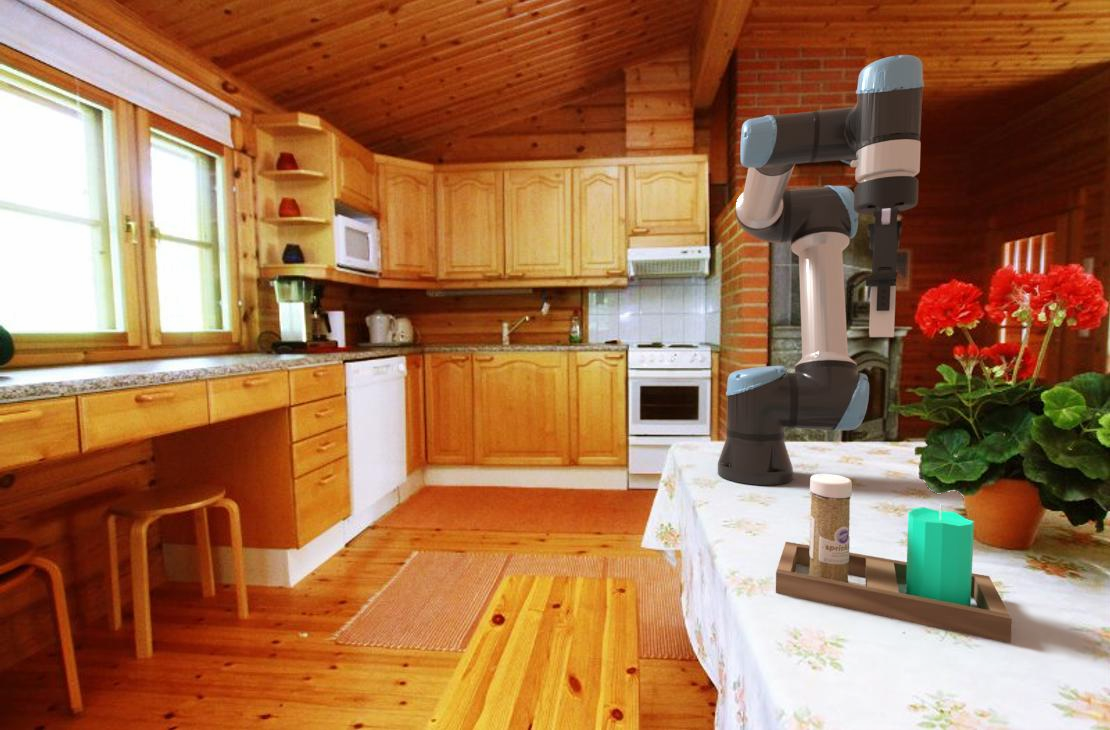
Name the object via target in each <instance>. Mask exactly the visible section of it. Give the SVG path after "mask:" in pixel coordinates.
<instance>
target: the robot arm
mask: <svg viewBox="0 0 1110 730" xmlns="http://www.w3.org/2000/svg"><path fill="white" fill-rule="evenodd" d="M923 72H924V71H923V63H922V60H921V59H920V57H917V56H915V55H912V54H898V55H893V56H888V57H884V58H881V59H878V60H875V61H874V62H873V61H872V62H871V63H869V64H868V65H867V66H865V67H863V68H862V70H861V71H860V72H859V74H858V80H857V89H856V90H855V94H856V99H857V100H856V104H855V105H854V106H850V107H849V106H848V107H842V108H841V107H840V108H831V109H823V110H814V111H806V112H805V111H804V112H796V113H786V114H776V115H773V114H767V115H765V116H761V117H755V118H749V119H747V120H745V121H744V122H743V123H742V126H741V134H740V156H739V157H740V164H741V166H742V167H743V168H747V174H746V179H745V183H744V189H743V192H742V193H741V194H740V195H739V197H738V199H737V200H736V201H737V202H736V204H735V217H736V220H737V223H738V225H739V227H741V228H742V230H743V231H745V233H747V234H748V235H749V236H751V237H753V238H754V239H757V240H759V241H762V242H766V243H767V242H768V243H780V244H781V243H790V250H791V252H792V253H793V254H795V255H796V256H798V265H799V266H798V268H799V270H798V271H799V296H800V297H799V298H800V299H799V300H800V327H801V328H800V329H801V332H800V333H801V354H802V355H801V356H802V357H801V359H800V360H799V361H798V362H797V363H796V364H795V365H794V372H787V369H786V366H783V365H773V366H772V365H771V366H769V365H768V366H758V367H750V368H744V369H738V370H735V371H733V372H731V373H729V375H728V377H727V381H726V382H727V384H726V385H727V386H726V392H725V396H727V397H726V399H727V401H726V434H725V436H726V438H725V442H724V444H723V448H722V450H721V453H720V455H719V459H718V461H717V474H718V475H719V476H720V477H721V478H723V479H726V480H729V481H732V482H736V483H740V484H748V485H755V486H757V485H758V486H773V485H774V486H775V485H782V484H787V483H790V482H792V481H793V479H794V476H793V475H794V468H793V464H792V462H791V459H790V458H791V457H790V455H789V452H788V450H787V446H786V442H785V430H786V429H794V430H798V429H799V430H822V431H823V430H825V431H832V432H836V431H853V430H856V429H857V428H858V427H860V425H861V424H862V423H863V420H864V419H865V416H866V414H867V410H868V404H869V400H870V399H869V397H870V396H869V395H870V383H869V378H868V376H867V374H865V373H862V372H858V365H857V362H855V361H854V360H853V359H852V358H851V357H849V352H848V350H849V349H848V335H847V333H848V332H847V331H848V330H847V313H846V297H845V278H844V275H845V274H844V259H843V251H844V250H845V249H846V248H847V247H848V246H849V245H850V240H852V239H853V238H855V236H856V234H857V232H858V228H859V227H858V226H859V214H860V215H871V214H872V215H873V217H874V223H872V222H871V223H868V224H867V239H868V240H869V244H868V246H869V247H868V253H869V255H871V256H872V259H871V260H872V261H871V262H872V266H871V267H872V268H871V277H866V278H865V279H866V280H865V287H870V296H869V297H870V298H869V320H868V321H869V324H868V325H869V328H868V329H869V330H868V335H869V338H895V322H896V321H895V316H896V297H897V296H896V292H897V277H898V271H897V252H898V248H899V247H900V241H901V237H900V236H901V235H902V228H903V221H902V220H898V215H899V214H900V213H899V212H903V211H907V210H910V209H913V208H914V207H916V206H917V205H918V201H919V179H918V178H917V177H916V176H917V175H918V174H920V170H921V169H920V168H921V145H922V144H921V131H922V130H921V127H922V106H923V105H922V104H923V91H924V90H923V89H924V87H925V82H924V73H923ZM833 161H834V162H835V161H841V162H842V163H844V164H847V165H850V168H855V174H854V175H855V181H856V182H857V183H858V184H857V185H856V186H855V187H854V192H853V191H852V189H851V188H849V187H847V186H845V185H824V186H819V187H803V188H790V189H787V186H788V184H789V181H790V179H791V176H792V173H793V170H794V168H795V165H799V164H810V163H811V164H812V163H821V162H833Z"/></svg>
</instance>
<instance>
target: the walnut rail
mask: <svg viewBox="0 0 1110 730" xmlns="http://www.w3.org/2000/svg"><path fill="white" fill-rule="evenodd" d="M809 547H810V544H809V545H808V544H802V543H797V542H790V541H785V543H784V545H783V549H782V552H781V556H780V559H779V562H778V565H777V568H776V572H775V594H781V595H785V596H789V597H795V598H799V599H804V600H805V599H806V600H809V601H814V602H817V603H823V604H826V605H827V604H828V605H833V606H836V607H837V606H838V607H841V608H846V609H850V610H856V611H859V612H860V611H861V612H864V613H865V612H866V613H868V614H869V613H870V614H873V615H880V616H884V617H890V618H894V619H898V620H902V621H907V622H911V623H917V624H922V625H926V626H931V627H935V628H936V627H937V628H940V629H944V630H949V631H954V632H959V633H964V634H967V635H973V636H978V637H981V638H985V639H991V640H996V641H1001V642H1005V643H1009V644H1011V643H1012V623H1013V621H1012V620H1013V619H1012V616H1011V615H1010V613H1009V611H1008V608H1007V607H1006V605H1005V603H1004V602H1003V599H1002V598H1001V595H1000V594H999V591H998V590H997V589H996V587H995V585H994V583H993V581H992V579H991V577H990V576H989V575H984V574H978V573H974V572H972V580H971V598H973V599H974V601H975V604H976V606H977V607H975V606H971V605H970V606H965V605H960V604H955V603H949V602H944V601H939V600H934V599H929V598H924V597H919V596H913V595H908V594H906V593H902V592H900V591H899V586H898V585H900V584H901V585H904V586H906V572H907V561H904V560H903V561H901V560H896V559H890V558H885V557H879V556H872V555H867V554H861V553H856V552H855V553H854V552H850V551H849V562H848V575H851V576H856V577H862V578H865V585H860V584H856V583H851V582H849V583H846V582H841V581H836V580H831V579H826V578H821V577H816V576H810V575H809V574H805V573H799V572H796V569H797V566H802V567H803V566H804V567H808V568H810V555H809Z"/></svg>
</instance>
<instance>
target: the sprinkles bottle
mask: <svg viewBox="0 0 1110 730" xmlns="http://www.w3.org/2000/svg"><path fill="white" fill-rule="evenodd" d="M809 482H810V483H809V492H810V496H811V497H810V500H811V501H810V502H811V504H810V515H809V546H810V547H809V555H810V567H809V574H808V575H810V576H816V577H821V578H826V579H831V580H836V581H841V582H846V583H850V582H849V574H848V562H849V552H850V540H851V539H850V513H851V511H850V510H851V509H850V508H851V507H850V506H851V502H850V501H851V496H852V494H853V493H852V492H853V482H852V480H851V479H850V478H848V477H845V476H843V475H838V474H834V473H816V474H813V475H811V476H810V479H809Z"/></svg>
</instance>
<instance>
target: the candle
mask: <svg viewBox="0 0 1110 730" xmlns="http://www.w3.org/2000/svg"><path fill="white" fill-rule="evenodd" d="M942 503H943V502H940V503H939V510H936V509H933V508H928V507H924V506H923V507H916V508H913V509H911V510H910V511H908V519H907V520H908V522H907V523H908V524H907V544H906V545H907V549H906V562H907V572H906V585H905V594H908V595H913V596H919V597H924V598H929V599H934V600H939V601H944V602H949V603H955V604H960V605H965V606H970V607H971V601H972V600H971V598H972V597H971V580H972V573H973V552H974V532H975V530H974V528H975V521H974V520H970V519H967V518H965V517H964V516H962V515H961V514H959V513H957V512H955V511H945V510H942V508H943V504H942Z"/></svg>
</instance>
